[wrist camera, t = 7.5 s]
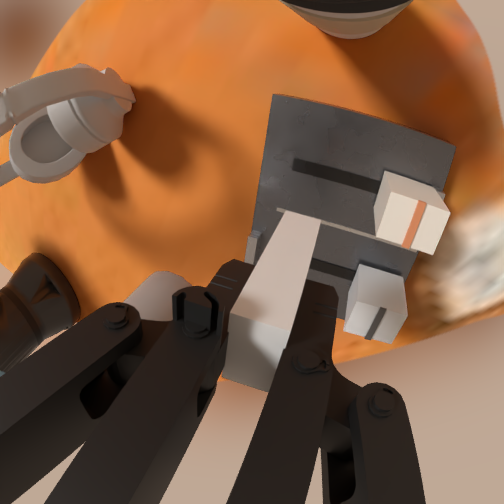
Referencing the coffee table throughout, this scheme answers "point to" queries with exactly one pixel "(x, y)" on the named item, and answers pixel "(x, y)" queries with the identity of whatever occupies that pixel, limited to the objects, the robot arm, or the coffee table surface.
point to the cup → (157, 295)
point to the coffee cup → (348, 15)
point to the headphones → (61, 121)
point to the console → (339, 184)
